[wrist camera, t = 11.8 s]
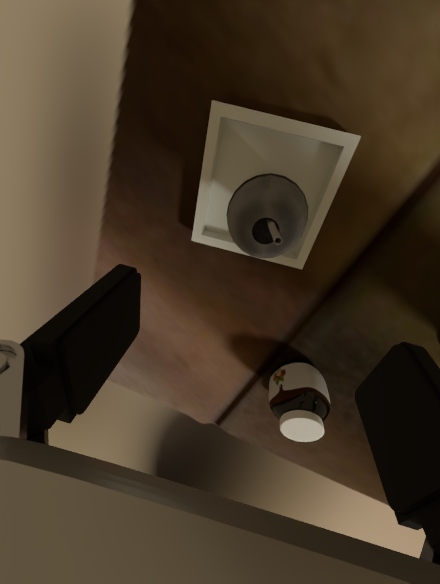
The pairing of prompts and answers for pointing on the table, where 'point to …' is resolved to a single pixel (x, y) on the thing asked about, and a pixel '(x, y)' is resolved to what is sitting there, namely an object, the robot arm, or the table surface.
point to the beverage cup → (267, 215)
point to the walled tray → (268, 170)
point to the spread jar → (299, 400)
